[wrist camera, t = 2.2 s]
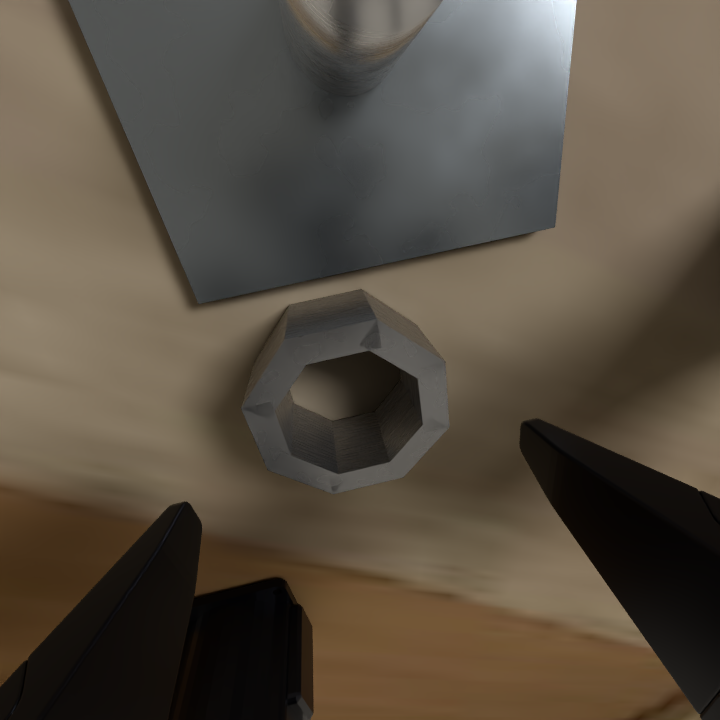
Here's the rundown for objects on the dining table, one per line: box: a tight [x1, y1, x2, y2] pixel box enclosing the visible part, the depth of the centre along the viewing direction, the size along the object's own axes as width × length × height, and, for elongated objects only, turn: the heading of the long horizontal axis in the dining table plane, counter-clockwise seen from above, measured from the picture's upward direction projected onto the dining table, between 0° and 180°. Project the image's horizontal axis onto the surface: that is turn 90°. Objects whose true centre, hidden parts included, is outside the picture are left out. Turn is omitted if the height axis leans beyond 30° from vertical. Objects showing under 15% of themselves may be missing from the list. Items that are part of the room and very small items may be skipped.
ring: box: [241, 289, 449, 494], centre depth 12 cm, size 6×6×3 cm
